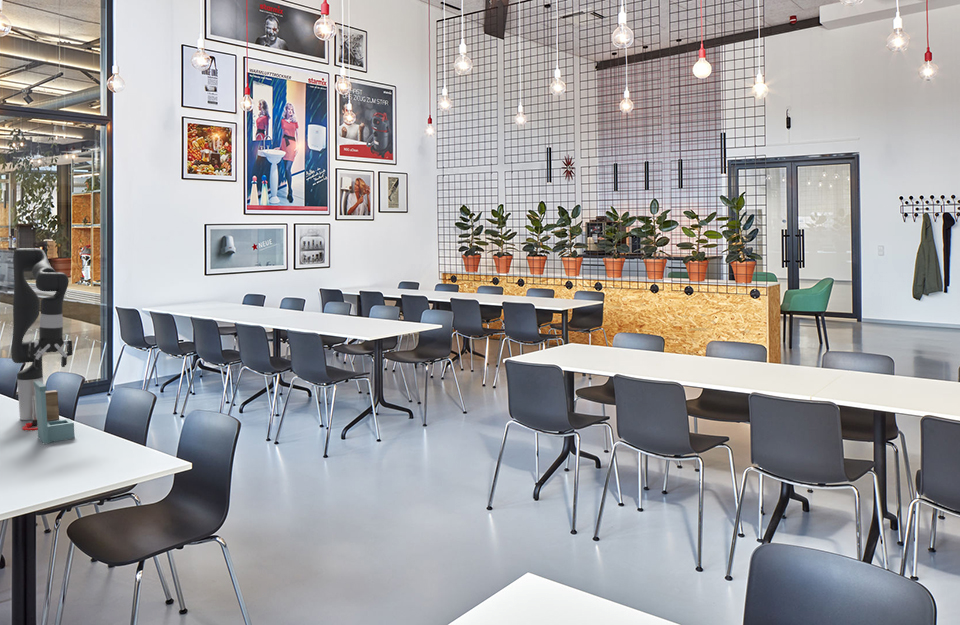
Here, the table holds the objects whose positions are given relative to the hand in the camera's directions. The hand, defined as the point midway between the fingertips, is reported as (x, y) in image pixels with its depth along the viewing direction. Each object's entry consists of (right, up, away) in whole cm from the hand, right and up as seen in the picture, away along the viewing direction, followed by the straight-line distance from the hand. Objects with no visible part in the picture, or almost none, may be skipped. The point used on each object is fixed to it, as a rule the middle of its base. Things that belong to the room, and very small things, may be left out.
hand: (50, 367), depth 272 cm
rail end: (-7, -26, +14) cm, 31 cm away
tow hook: (-18, -26, +19) cm, 37 cm away
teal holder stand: (+1, -27, +4) cm, 28 cm away
